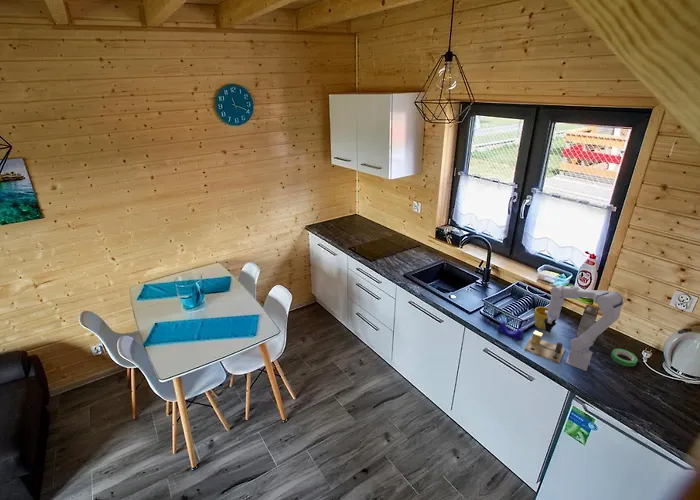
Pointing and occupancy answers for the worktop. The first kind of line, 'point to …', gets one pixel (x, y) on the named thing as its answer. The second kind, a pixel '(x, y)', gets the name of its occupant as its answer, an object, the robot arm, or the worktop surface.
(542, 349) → the tan base plate
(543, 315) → the plant pot
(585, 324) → the coffee box
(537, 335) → the block
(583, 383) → the worktop surface
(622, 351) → the tape roll
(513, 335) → the cable clip
